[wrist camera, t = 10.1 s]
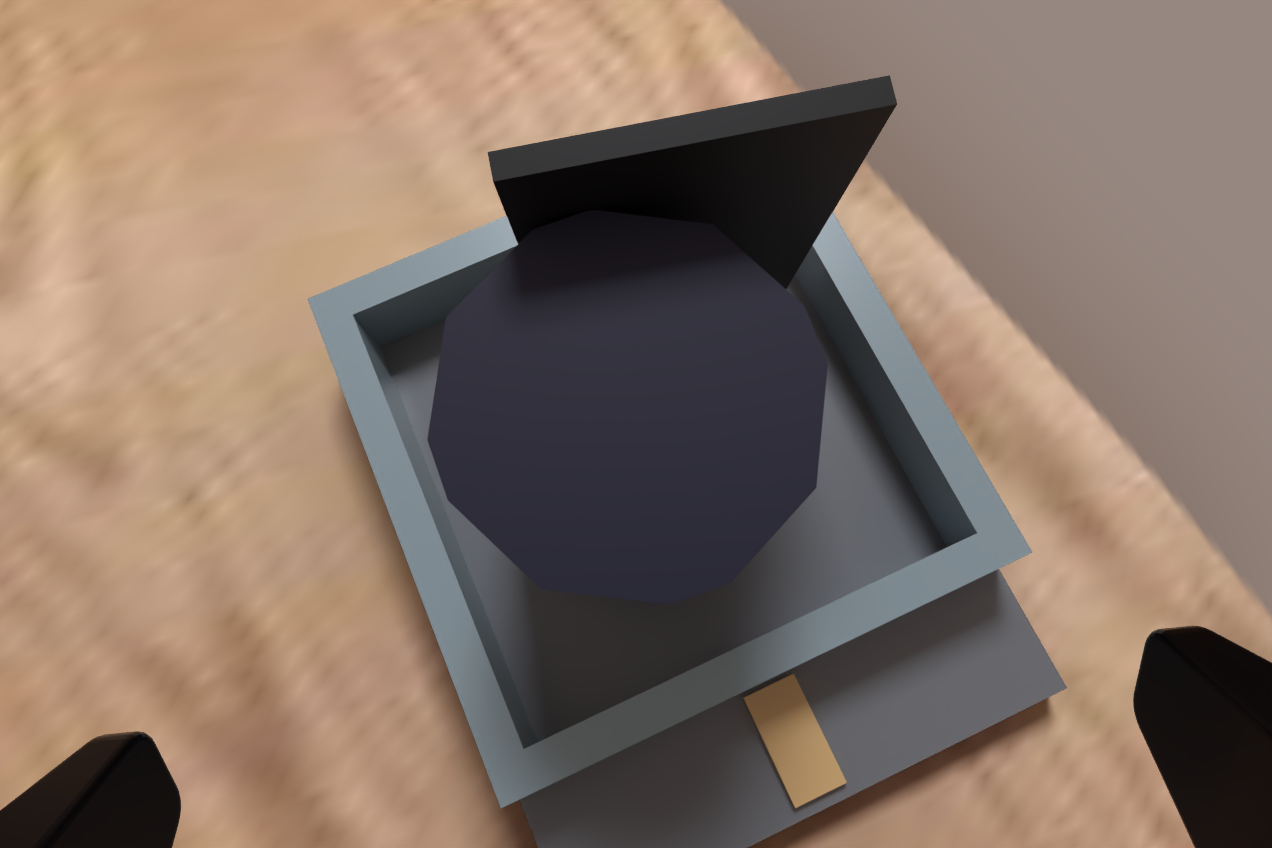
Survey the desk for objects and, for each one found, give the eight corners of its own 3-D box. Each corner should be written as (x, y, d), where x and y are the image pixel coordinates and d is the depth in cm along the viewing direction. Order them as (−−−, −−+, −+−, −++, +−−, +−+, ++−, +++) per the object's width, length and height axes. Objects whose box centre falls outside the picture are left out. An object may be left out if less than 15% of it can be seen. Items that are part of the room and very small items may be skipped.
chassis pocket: (1046, 687, 20) (1112, 689, 17) (576, 922, 19) (560, 966, 16) (757, 175, 24) (770, 105, 21) (352, 346, 23) (307, 299, 20)
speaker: (544, 262, 22) (466, -17, 12) (775, 298, 22) (904, 48, 11) (487, 570, 20) (343, 562, 10) (733, 609, 20) (835, 641, 10)
